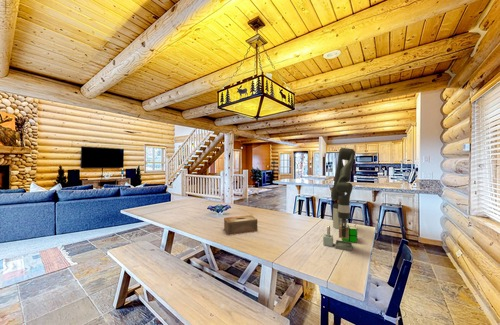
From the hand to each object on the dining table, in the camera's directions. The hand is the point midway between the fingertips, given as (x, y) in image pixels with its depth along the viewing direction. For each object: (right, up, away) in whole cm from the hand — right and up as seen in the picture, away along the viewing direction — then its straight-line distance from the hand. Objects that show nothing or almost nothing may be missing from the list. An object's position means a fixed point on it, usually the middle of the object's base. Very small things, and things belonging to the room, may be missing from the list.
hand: (343, 235), depth 139 cm
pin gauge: (-9, -7, +5) cm, 12 cm away
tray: (0, -8, 0) cm, 8 cm away
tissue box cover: (-73, -8, +35) cm, 82 cm away
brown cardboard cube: (0, -1, 0) cm, 1 cm away
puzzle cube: (+10, -8, +13) cm, 18 cm away
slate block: (-9, -8, +5) cm, 13 cm away
